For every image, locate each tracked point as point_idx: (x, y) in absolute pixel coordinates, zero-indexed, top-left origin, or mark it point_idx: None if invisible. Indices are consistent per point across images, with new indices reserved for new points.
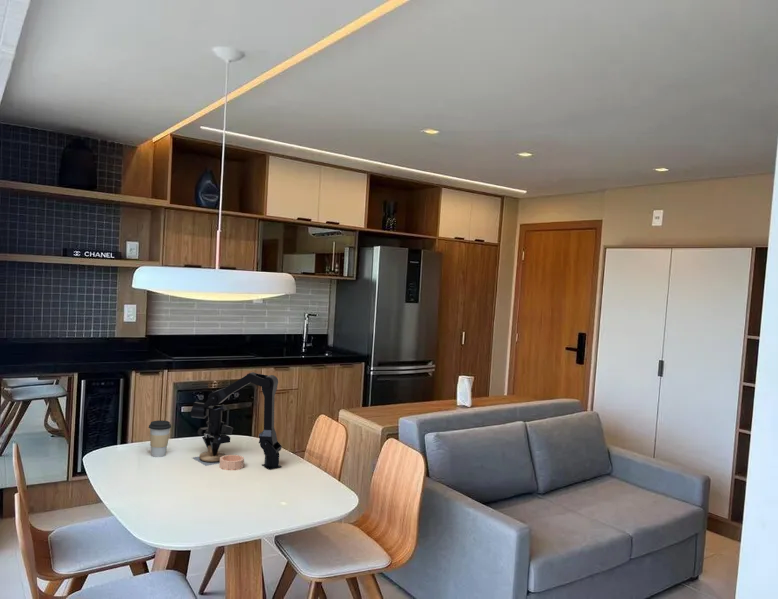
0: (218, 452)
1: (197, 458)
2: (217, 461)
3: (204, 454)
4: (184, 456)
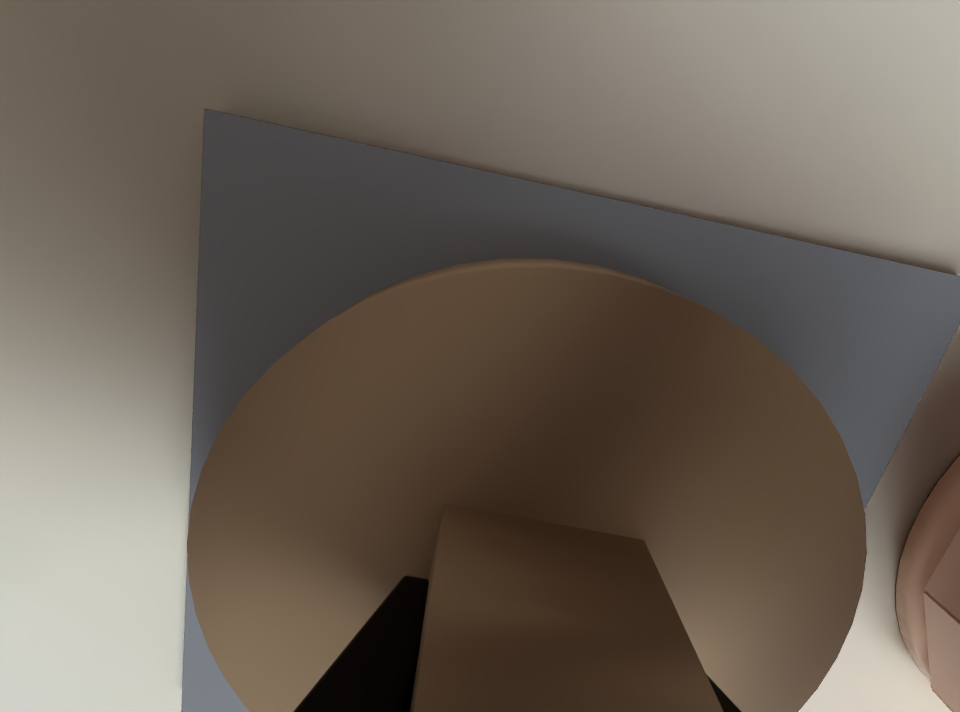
0: (429, 334)
1: None
2: None
3: None
4: (5, 696)
